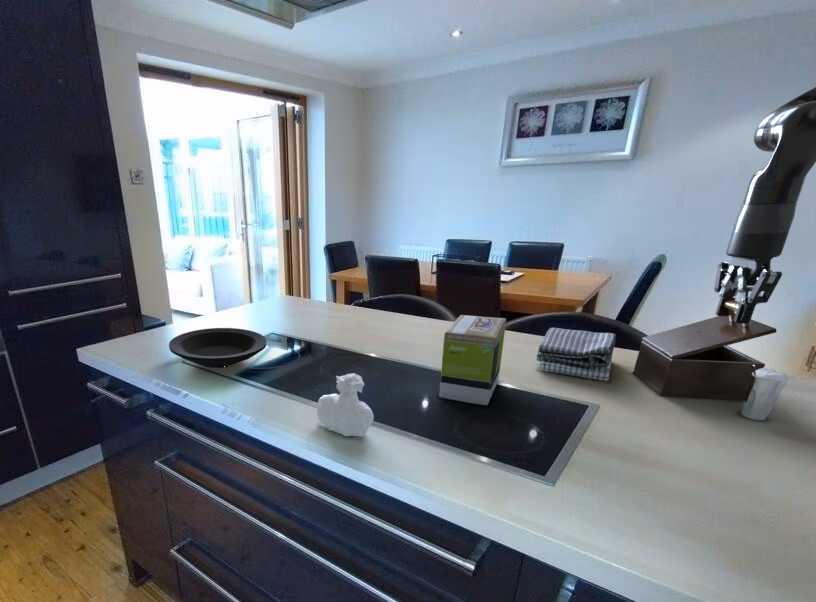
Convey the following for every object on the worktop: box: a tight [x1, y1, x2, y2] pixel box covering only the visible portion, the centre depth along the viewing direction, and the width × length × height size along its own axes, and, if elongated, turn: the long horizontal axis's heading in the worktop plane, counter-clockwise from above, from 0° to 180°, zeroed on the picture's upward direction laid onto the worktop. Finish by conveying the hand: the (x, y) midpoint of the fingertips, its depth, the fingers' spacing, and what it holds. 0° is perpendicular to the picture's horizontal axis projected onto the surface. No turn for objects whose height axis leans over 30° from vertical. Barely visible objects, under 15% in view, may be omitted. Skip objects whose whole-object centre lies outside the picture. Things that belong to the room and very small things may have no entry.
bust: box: [316, 372, 375, 437], centre depth 80 cm, size 12×8×11 cm
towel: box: [535, 327, 617, 382], centre depth 106 cm, size 15×18×8 cm
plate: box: [168, 327, 267, 369], centre depth 116 cm, size 28×24×6 cm
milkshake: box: [740, 365, 789, 421], centre depth 79 cm, size 4×5×10 cm
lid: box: [642, 299, 777, 360], centre depth 89 cm, size 16×13×5 cm
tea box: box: [438, 314, 507, 406], centre depth 93 cm, size 15×10×15 cm
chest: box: [632, 340, 766, 401], centre depth 93 cm, size 16×13×8 cm
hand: (731, 318), depth 88 cm, fingers closed on lid, 5 cm apart
